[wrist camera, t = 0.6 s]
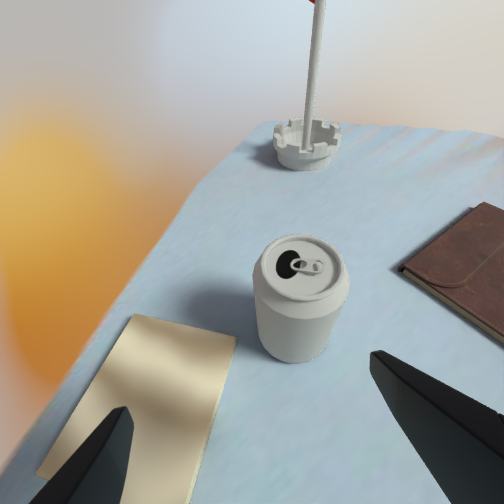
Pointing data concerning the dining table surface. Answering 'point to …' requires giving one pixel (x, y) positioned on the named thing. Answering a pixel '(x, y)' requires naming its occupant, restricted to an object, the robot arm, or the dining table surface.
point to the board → (154, 406)
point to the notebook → (467, 268)
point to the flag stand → (308, 118)
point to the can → (298, 296)
